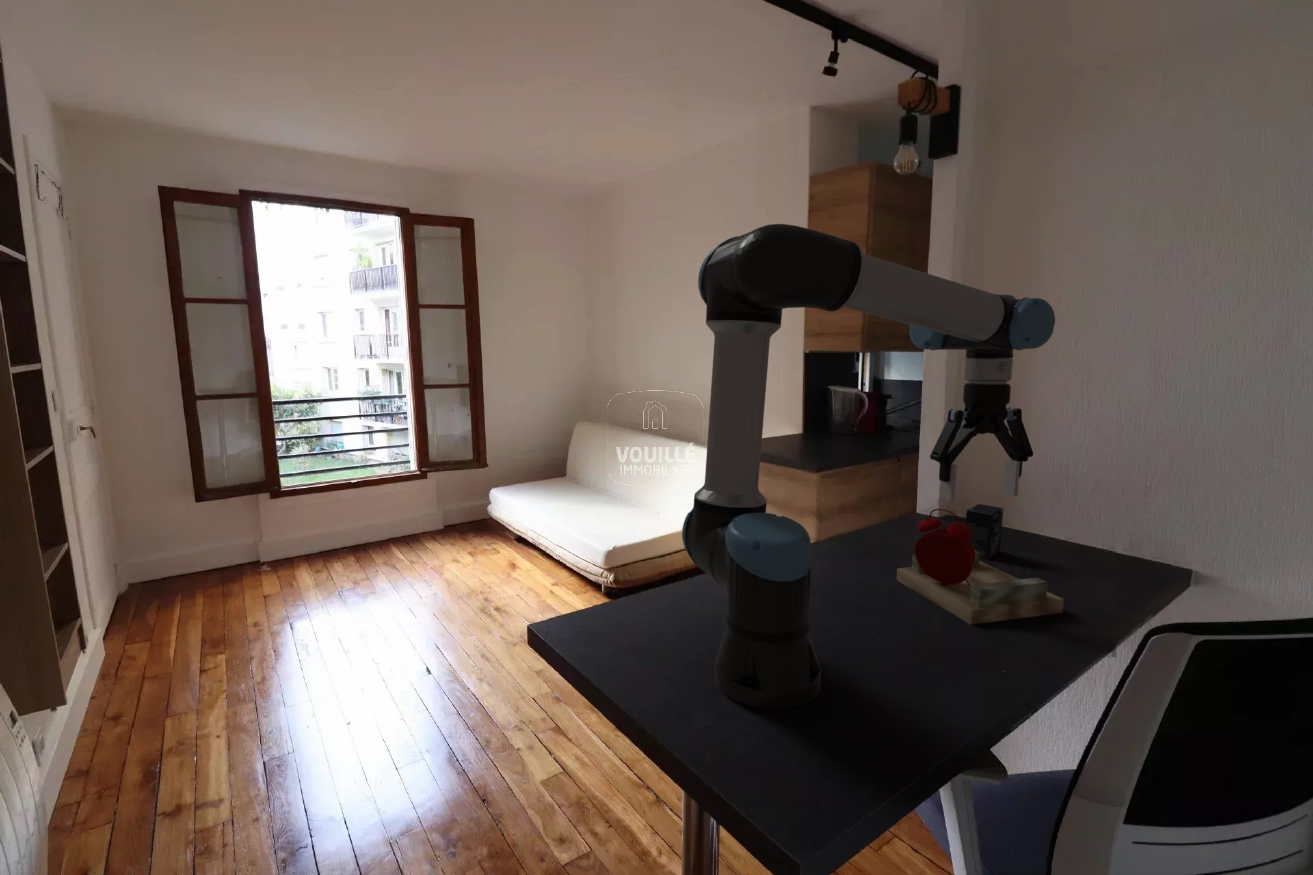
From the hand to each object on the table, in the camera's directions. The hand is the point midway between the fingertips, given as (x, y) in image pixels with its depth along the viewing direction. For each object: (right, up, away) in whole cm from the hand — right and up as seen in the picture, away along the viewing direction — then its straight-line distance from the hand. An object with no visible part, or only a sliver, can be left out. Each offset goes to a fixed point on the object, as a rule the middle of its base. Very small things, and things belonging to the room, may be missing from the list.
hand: (979, 496), depth 114 cm
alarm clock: (-6, -17, +2) cm, 18 cm away
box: (+15, -16, +26) cm, 34 cm away
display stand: (0, -19, +3) cm, 19 cm away
